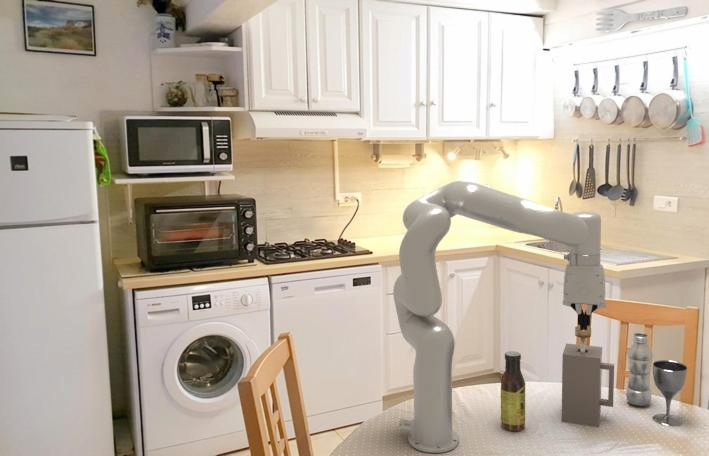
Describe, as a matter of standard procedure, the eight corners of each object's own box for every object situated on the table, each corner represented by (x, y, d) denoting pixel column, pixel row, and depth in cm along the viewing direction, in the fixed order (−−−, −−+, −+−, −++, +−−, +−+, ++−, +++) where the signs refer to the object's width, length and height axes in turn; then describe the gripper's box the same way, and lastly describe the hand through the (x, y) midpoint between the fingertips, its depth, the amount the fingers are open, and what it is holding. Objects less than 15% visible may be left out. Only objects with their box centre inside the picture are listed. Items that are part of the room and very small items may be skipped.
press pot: (561, 421, 164) (562, 354, 162) (565, 407, 173) (566, 343, 170) (612, 429, 159) (614, 359, 157) (613, 414, 168) (615, 348, 165)
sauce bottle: (526, 433, 159) (526, 358, 156) (500, 431, 160) (501, 357, 157) (524, 421, 165) (524, 350, 162) (500, 420, 166) (500, 349, 163)
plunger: (566, 401, 164) (567, 330, 161) (568, 391, 171) (570, 323, 168) (595, 405, 161) (597, 333, 158) (596, 394, 168) (598, 325, 165)
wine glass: (683, 416, 165) (686, 362, 163) (685, 429, 158) (688, 372, 156) (650, 411, 169) (652, 358, 167) (651, 423, 162) (653, 368, 159)
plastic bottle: (621, 404, 174) (623, 335, 171) (632, 397, 178) (634, 330, 175) (644, 411, 169) (647, 340, 166) (655, 403, 173) (658, 334, 171)
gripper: (552, 261, 160) (552, 329, 163) (615, 264, 154) (614, 335, 157) (556, 255, 167) (555, 321, 170) (616, 258, 161) (615, 326, 164)
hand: (583, 327), depth 163 cm, fingers closed
